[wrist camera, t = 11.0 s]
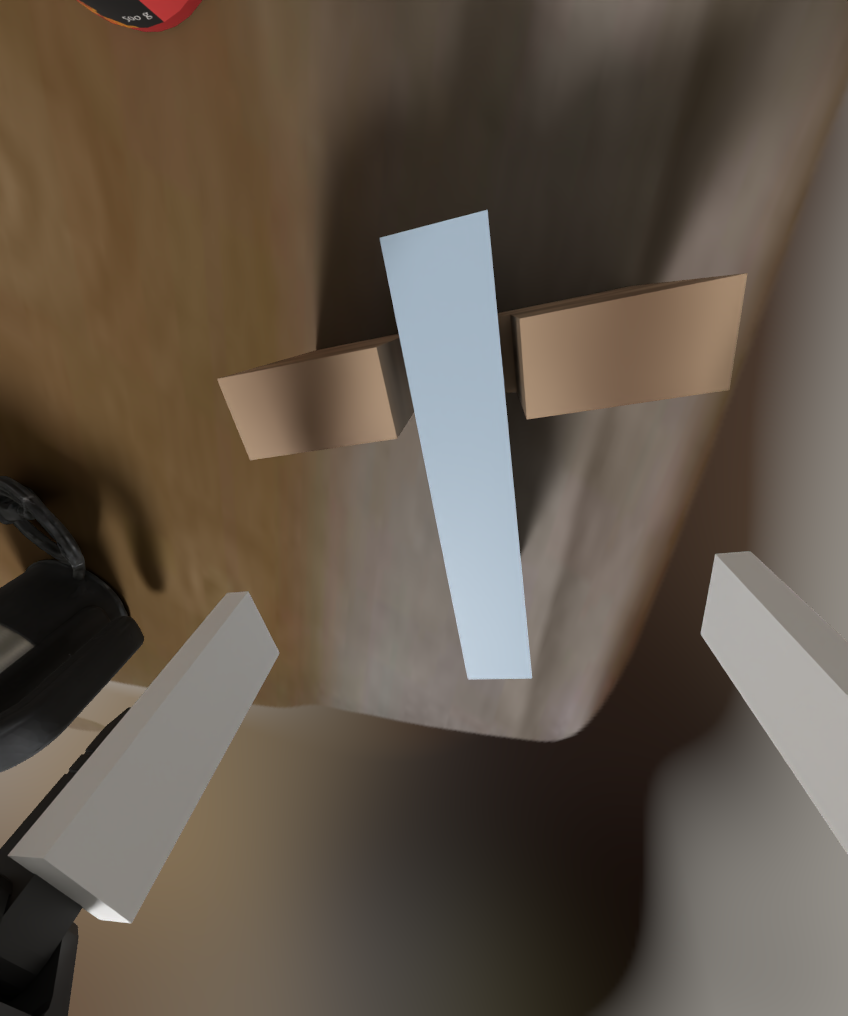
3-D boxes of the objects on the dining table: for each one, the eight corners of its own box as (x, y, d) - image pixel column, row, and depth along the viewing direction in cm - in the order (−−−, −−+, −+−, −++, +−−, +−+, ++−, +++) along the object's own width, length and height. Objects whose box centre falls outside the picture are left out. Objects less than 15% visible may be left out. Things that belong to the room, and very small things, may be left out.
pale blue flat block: (423, 264, 19) (379, 237, 11) (485, 249, 18) (487, 209, 10) (472, 567, 27) (467, 679, 19) (517, 564, 26) (531, 678, 18)
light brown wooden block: (331, 405, 23) (250, 460, 15) (315, 350, 21) (217, 378, 13) (628, 354, 19) (729, 389, 11) (631, 285, 18) (747, 273, 10)
